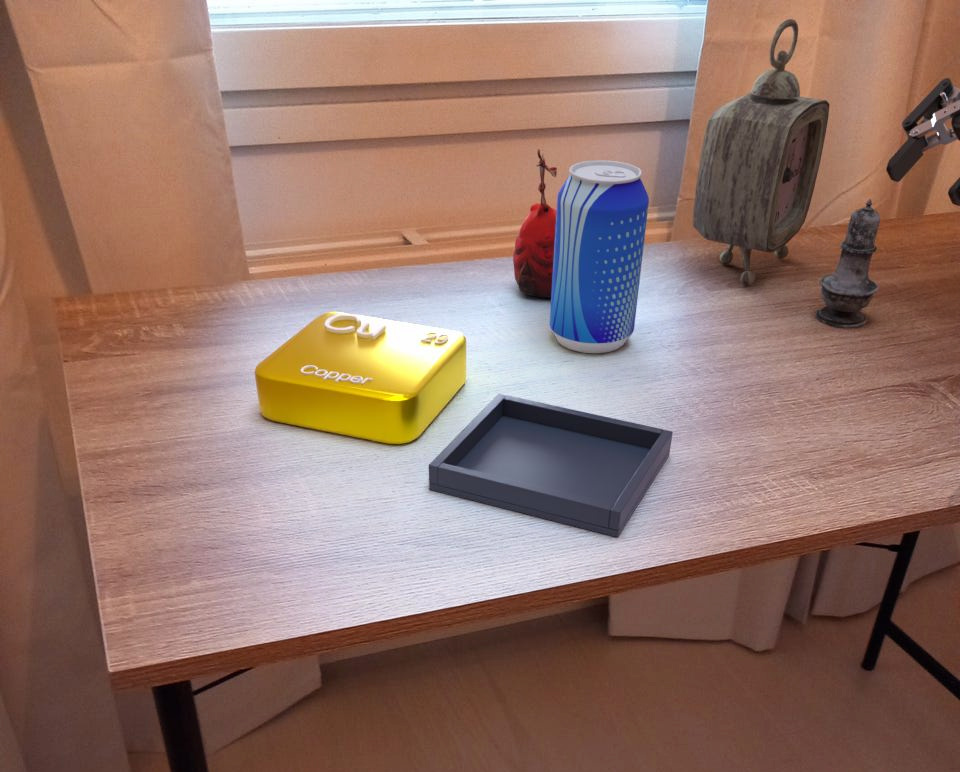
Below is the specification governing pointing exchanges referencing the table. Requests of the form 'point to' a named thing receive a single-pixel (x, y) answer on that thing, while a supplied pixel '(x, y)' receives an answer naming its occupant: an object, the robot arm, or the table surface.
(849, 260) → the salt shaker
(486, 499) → the tray
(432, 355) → the element tile
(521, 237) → the red rounded tall piece
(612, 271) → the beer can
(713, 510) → the table surface
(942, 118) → the robot arm
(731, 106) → the tabletop clock
